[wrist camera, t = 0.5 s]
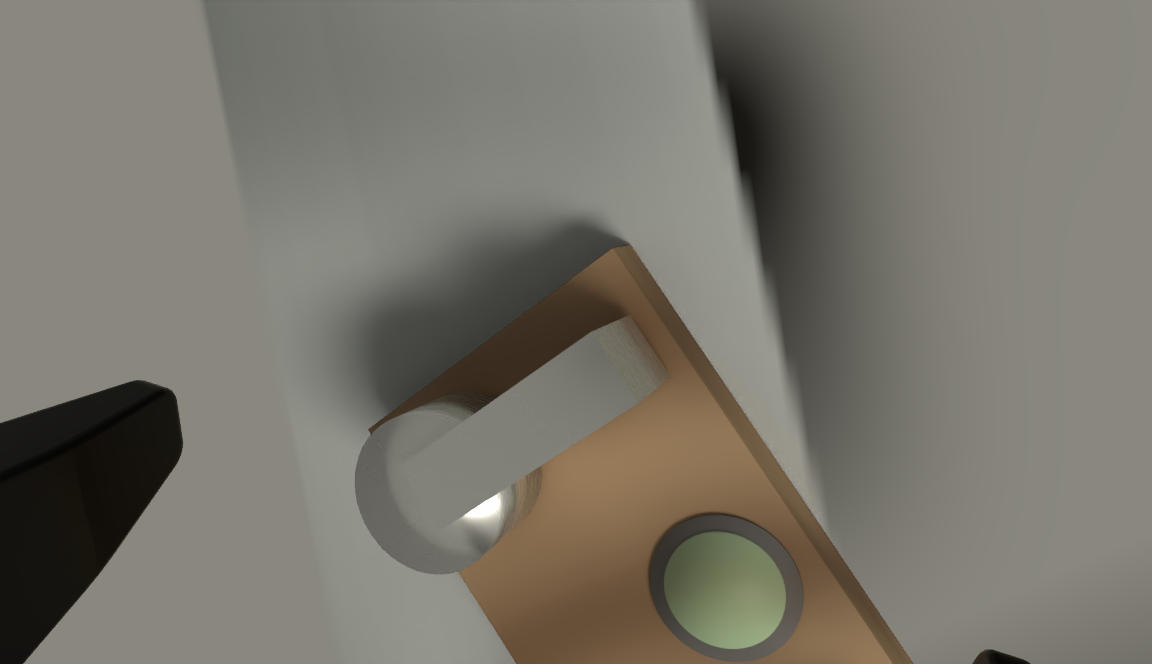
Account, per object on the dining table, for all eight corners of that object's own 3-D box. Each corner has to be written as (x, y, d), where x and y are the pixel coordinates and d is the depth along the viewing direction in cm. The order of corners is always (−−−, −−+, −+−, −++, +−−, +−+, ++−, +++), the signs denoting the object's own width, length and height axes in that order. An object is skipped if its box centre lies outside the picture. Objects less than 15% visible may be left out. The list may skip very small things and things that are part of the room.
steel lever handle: (460, 560, 23) (406, 606, 21) (383, 438, 24) (319, 468, 21) (697, 415, 20) (667, 447, 18) (604, 277, 21) (562, 289, 18)
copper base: (1015, 814, 21) (1024, 864, 19) (715, 915, 24) (702, 966, 23) (630, 244, 22) (610, 248, 20) (396, 416, 25) (363, 431, 24)
